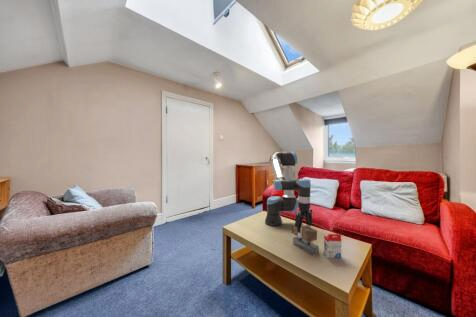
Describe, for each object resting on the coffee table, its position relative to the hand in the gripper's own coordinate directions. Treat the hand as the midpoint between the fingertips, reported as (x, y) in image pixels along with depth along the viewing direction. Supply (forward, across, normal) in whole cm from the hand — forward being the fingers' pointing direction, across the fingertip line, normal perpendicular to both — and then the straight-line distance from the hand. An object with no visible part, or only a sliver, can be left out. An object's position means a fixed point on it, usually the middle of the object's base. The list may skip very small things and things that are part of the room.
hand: (303, 235), depth 121 cm
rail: (+8, 0, -1) cm, 8 cm away
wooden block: (0, 0, 0) cm, 0 cm away
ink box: (+8, +7, -16) cm, 19 cm away
